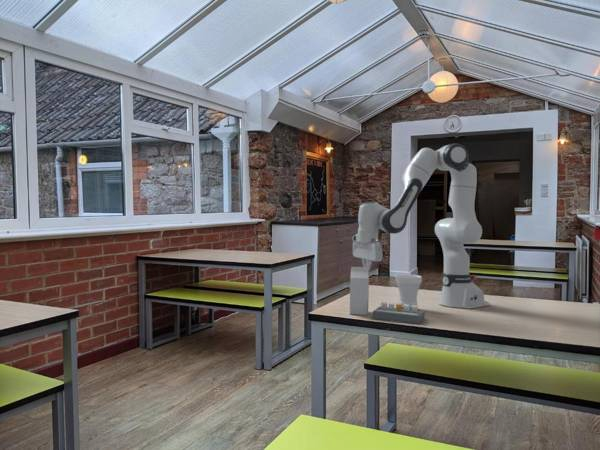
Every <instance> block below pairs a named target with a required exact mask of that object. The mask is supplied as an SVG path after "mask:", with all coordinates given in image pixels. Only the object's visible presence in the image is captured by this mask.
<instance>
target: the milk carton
mask: <svg viewBox="0 0 600 450" xmlns="http://www.w3.org/2000/svg"><path fill="white" fill-rule="evenodd" d="M369 271H370V270H369V267H362V266H351V268H350V277H349V279H350V281H349V315H359V316H360V315H362V316H363V315H364V316H367V315H368V313H369V296H370V295H369V294H370V291H369V289H370V287H369V286H370V272H369Z"/></svg>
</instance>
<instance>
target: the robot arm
mask: <svg viewBox="0 0 600 450" xmlns="http://www.w3.org/2000/svg"><path fill="white" fill-rule="evenodd" d="M435 170H437V171H438V172H439V171H440V172H447V171H448V172H449V173H450V178H451V181H450V186H449V194H448V206H449V207H450V208H451V211H452V216H453V217H447V218H443V219H442V218H441V219H440V220H438V221H437V222H436V223H435V225H434V234H435V236H436V237H437V238H438V240H439V242H440V246H441V248H442V254H443V272H442V278H441V279H442V280H441V281H442V290H441V295H440V298H439V301H438V304H439V305H441V306H444V307H449V308H458V309H459V308H461V309H468V310H469V309H475V308H480V307H481V308H482V307H487V306H490V302H489V301H486V300H485V293H484V291H483V290H482V289H481V288H480V287H479V286H477V285H476V284H475V283H474V282H473V280H475V281H476V280H477V279H478V276H477V275H476V274H470V266H471V265H470V264H471V263H470V262H471V261H470V255H469V253H467V251H466V248H465V246H464V244H465V245H468V244H473V243H477V242H479V240H480V239H481V238H482V236H483V235H482V234H483V227H482V225H481V224H480V223H479V221H478V219H477V216H476V210H475V204H476V203H475V201H476V192H477V184H478V182H477V181H478V177H477V176H478V174H477V168H476V166H475V165H474V164H473V163H471V162H470V157H469V153H468V150H467V148H466V147H465V146H464V145H463V144H460V143H450V144H447V145H443V146H442V147H440V148H438V149H436V150H434V149H432V148H430V147H423V148H420V150H419V151H418V152H417V153H416V154H415V155H414V157H412V159H411V160H410V162H409V163H408V164H407V166H406V168H405V169H404V172H403V175H402V177H401V180H402V184H403V185H404V186H403V191H402V194H401V196H400V197H399V199H398V200H397V202H396V204H395V206H393V207H392V208H387V207H384V205H381V204H380V203H379V202H378V201H376V200H375V201H374V200H373V201H365V202H362V203H361V204H360V206H359V208H358V216H357V220H358V221H357V222H358V229H357V233H355V235H353V236H352V256H353V257H354V258H358V259H361V263H362V265H363V267H369V271H370V270H371V265H372V263H373V262H382V261H383V246H382V244H381V242H380V240H379V238H378V237H379V230H381V231H384V232H387V233H390V234H399V233H400V232H403V230H404V229H405V227H406V225H407V222H408V217H409V213H410V212H411V210H412V208H413V206H414V204H415V202H416V201H417V199H418V197H419V195H420V193H421V191H422V190H423V188H424V187H425V185H426V184H427V182H429V180H430V178H431V176H432V175H433V173H434V172H435Z"/></svg>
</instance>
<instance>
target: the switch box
mask: <svg viewBox="0 0 600 450" xmlns="http://www.w3.org/2000/svg"><path fill="white" fill-rule="evenodd" d="M380 305H381V306H379V307H377V308H376V309H374V310H373V311H372V320H380V321H387V322H388V321H389V322H390V321H391V322H394V323H395V322H398V323H406V324H413V325H420V324H421V323H422V322H424V320H425V318H426V317H425V314H426V312H425V310H418V304H417V305H412V306H411V310H410V305H407V304H404V309H402V311H398V310H396V306H395V303H394V302H389V303H388V302H386V301H384V302H383V301H382V302H381V303H380Z"/></svg>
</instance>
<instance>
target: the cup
mask: <svg viewBox="0 0 600 450" xmlns="http://www.w3.org/2000/svg"><path fill="white" fill-rule="evenodd" d="M395 282H396V285H397V288H398V293H399V302H398V304H402V309H404V304H407V305H410V310H411V306H412V305H417V306H418V292H419V289H420V286H421V284H422V283H423V276H422V275H418V274H408V273H407V274H406V273H405V274H404V273H401V274H396V275H395Z"/></svg>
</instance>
